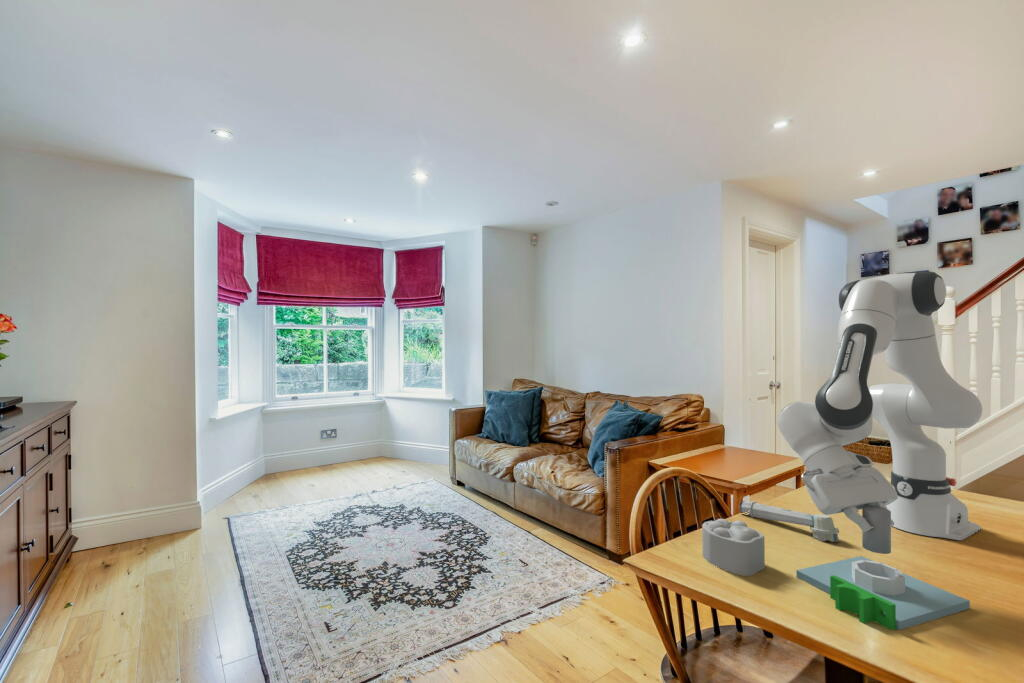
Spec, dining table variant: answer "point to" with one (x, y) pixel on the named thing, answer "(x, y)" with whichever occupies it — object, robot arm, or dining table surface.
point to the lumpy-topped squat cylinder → (733, 546)
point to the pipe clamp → (862, 603)
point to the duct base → (905, 603)
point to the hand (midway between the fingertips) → (879, 528)
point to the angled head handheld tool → (794, 519)
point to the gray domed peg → (877, 530)
